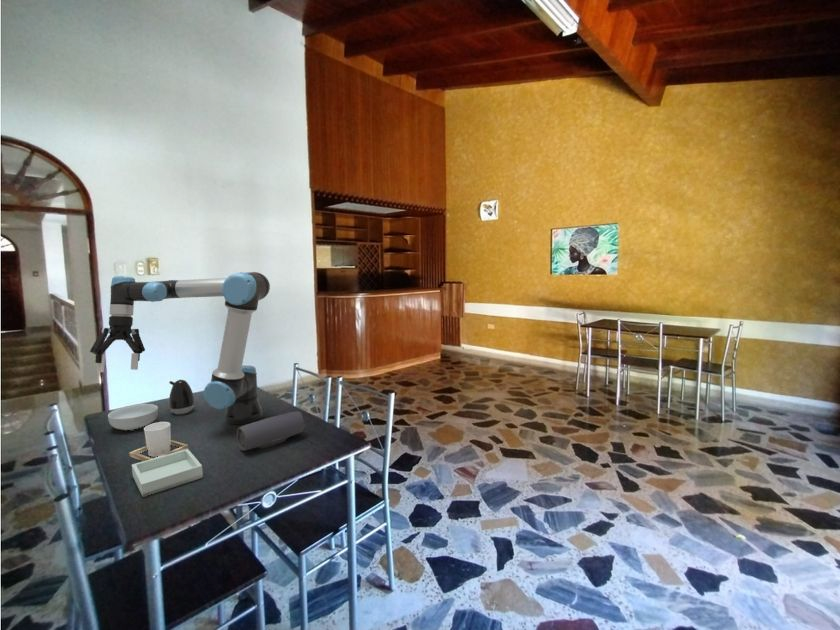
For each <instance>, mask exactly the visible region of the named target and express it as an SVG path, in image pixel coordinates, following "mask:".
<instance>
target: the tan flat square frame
mask: <svg viewBox="0 0 840 630" xmlns="http://www.w3.org/2000/svg"><path fill="white" fill-rule="evenodd" d="M171 445H172V447H175V446H176V447H175V449H173V450H170V452H167V453H165V454H163V455H160V456H158V457H161V456H164V455H168V454H171V453H175V452H178V451H182V450H186V449H188V450H189V444H186V443H182V442H179V441H176V440H172V439H171ZM178 447H179V448H178ZM147 450H148V449H147V445H145V446H142V447H140V448H137V449H135V450H132V451H130V452H128V455H129V458H133V459H135V460H139V461H140V460H141V461H140V462H143V461H146V460H150V459H154V458H157V457H150V456H147V455H144V454H142V452H143V453H145V452H144V451H146V452H148V451H147ZM140 453H141V454H140Z"/></svg>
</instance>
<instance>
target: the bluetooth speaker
mask: <svg viewBox="0 0 840 630" xmlns="http://www.w3.org/2000/svg"><path fill="white" fill-rule="evenodd" d="M305 428H306V424H305V420H304V417H303V414H302V413H301V412H300V411H290V412H286V413H282V414H278V415H274V416H271V417H267V418H264V419H259V420H256V421H253V422H250V423H246V424H245V425H242V426H240V427H237V430H236V431H237V432H236V441H237V444H238V447H239V449H240V450H242V451H243V452H244V451H249V450H252V449H256V448H258V449H265V448H268V447H271V446H274V445H275V446H276V445H278V444H281V443H284V442H286V441H287V439H288V438H291V437H294V436H296V435H299V434H300V433H303V432H304V430H305Z"/></svg>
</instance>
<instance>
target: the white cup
mask: <svg viewBox="0 0 840 630" xmlns="http://www.w3.org/2000/svg"><path fill="white" fill-rule="evenodd" d="M171 430H172V429H171V423H170V422H169V421H159V422H157V421H156V422H152V423H150V424H148V425H146V426H145V427H143V432H144V438H145V444H146V446H147V449H148V451H147V454H148V457H150V456H151V457H150V458H156V457H157V456H160V455H163V454H165V453H167V452H170V451H172V450H171V449H172V448H171V440H172V439H171V437H172V435H171V432H172V431H171Z"/></svg>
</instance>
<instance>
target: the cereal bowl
mask: <svg viewBox="0 0 840 630" xmlns="http://www.w3.org/2000/svg"><path fill="white" fill-rule="evenodd" d="M158 413H159V407H158V405H156V404H153V403H138V404H137V403H136V404H132V405H131V404H130V405H126V406H123V407H120V408H116V409H114V410H112V411H110V412H109V413H108V415H107V420H108V423H109V426H111V427H113V428H114V429H118V430H124V431H127V430H130V431H135V430H134V429H137V430H139V429H138V428H140V429H143V428H145V427H146V426H148V425H150V424H152V423H154V421H155V420H156V418H157V417H158ZM144 426H145V427H144ZM142 427H143V428H142Z"/></svg>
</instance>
